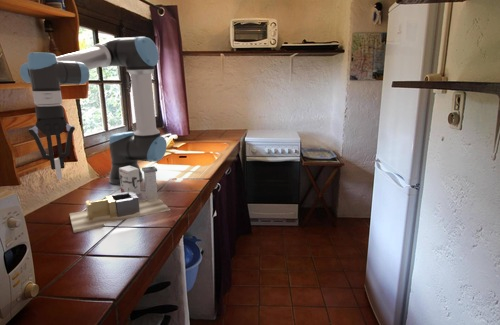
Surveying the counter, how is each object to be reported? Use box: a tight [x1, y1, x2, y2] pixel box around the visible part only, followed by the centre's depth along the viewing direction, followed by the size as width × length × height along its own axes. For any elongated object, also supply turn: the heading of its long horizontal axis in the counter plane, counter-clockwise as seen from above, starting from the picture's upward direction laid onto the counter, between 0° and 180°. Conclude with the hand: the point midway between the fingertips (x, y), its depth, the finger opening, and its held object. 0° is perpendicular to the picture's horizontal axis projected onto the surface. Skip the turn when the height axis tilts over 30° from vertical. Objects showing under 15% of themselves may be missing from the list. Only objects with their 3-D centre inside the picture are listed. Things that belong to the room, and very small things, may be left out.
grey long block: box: [141, 166, 159, 202], centre depth 133 cm, size 5×5×13 cm
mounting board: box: [69, 197, 171, 233], centre depth 123 cm, size 16×32×1 cm, turn 121°
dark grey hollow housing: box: [111, 192, 140, 217], centre depth 123 cm, size 10×8×6 cm
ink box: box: [119, 166, 141, 196], centre depth 142 cm, size 9×5×12 cm, turn 47°
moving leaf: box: [85, 194, 117, 220], centre depth 119 cm, size 8×9×5 cm
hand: (59, 178), depth 111 cm, fingers closed
